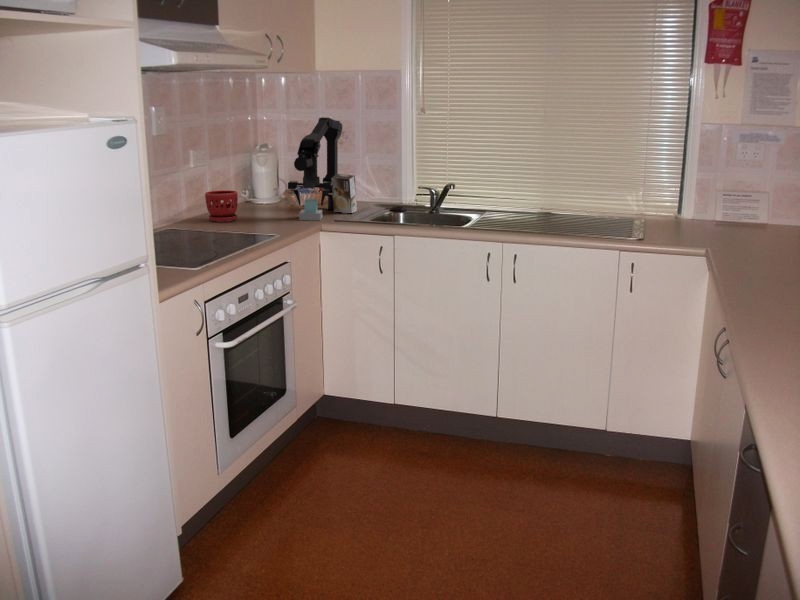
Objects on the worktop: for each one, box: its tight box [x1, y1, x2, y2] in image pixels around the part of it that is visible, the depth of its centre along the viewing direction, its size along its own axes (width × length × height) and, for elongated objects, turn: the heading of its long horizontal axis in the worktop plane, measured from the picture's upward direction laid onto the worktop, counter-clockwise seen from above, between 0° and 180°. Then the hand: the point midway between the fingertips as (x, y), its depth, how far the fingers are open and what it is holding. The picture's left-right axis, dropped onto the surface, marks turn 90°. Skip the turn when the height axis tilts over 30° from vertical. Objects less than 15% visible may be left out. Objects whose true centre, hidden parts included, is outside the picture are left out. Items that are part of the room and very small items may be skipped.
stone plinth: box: [298, 209, 323, 221], centre depth 341 cm, size 9×9×3 cm
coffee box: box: [331, 173, 358, 214], centre depth 355 cm, size 9×6×16 cm
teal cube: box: [303, 198, 318, 213], centre depth 340 cm, size 5×5×5 cm
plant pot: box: [204, 189, 239, 223], centre depth 332 cm, size 13×13×12 cm
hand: (310, 205), depth 340 cm, fingers open, 9 cm apart
